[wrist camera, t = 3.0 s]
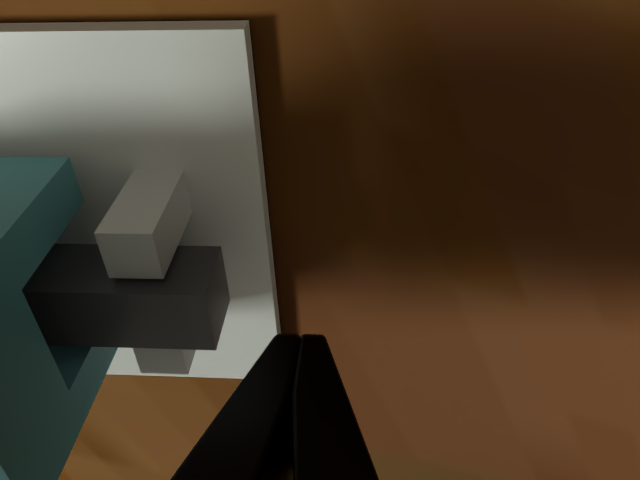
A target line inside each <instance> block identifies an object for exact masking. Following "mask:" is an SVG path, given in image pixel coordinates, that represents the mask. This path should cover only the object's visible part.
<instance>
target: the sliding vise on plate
mask: <svg viewBox="0 0 640 480" xmlns="http://www.w3.org/2000/svg"><path fill="white" fill-rule="evenodd" d="M0 157H69V158H70V161H71V164H72V167H73V170H74V173H75V176H76V179H77V181H78V184H79V187H80V190H81V193H82V196H83V199H84V203H83V204H82V205H81V207H80V208H79V210H78V211H77V212H76V214H75V215H74V217H73V218H72V220H71V221H70V222H69V224H68V225H67V227H66V228H65V229H64V231H63V232H62V234H61V235H60V236H59V238H58V239H57V241H56V242H55V244H54V245H53V246H52V248H51V249H50V251H49V252H48V253H47V255H46V256H45V258H44V259H43V261H42V262H41V263H40V265H39V266H38V268H37V269H36V270H35V272H34V273H33V275H32V276H31V277H30V279H29V280H28V282H27V283H26V285H25V286H24V287H23V289H22V292H23V294H24V296H25V298H26V301H27V303H28V305H29V307H30V309H31V311H32V313H33V316H34V318H35V320H36V322H37V324H38V326H39V328H40V331H41V333H42V335H43V337H44V339H45V341H46V343H47V345H51V346H85V347H118V349H117V351H116V353H115V356H114V358H113V360H112V362H111V364H110V366H109V369H108V371H107V373H106V374H118V375H149V376H179V377H209V378H240V379H244V377H245V376H246V375H247V373H248V372H249V370H250V369H251V368H252V366H253V365H254V364H255V362H256V361H257V359H258V358H259V357H260V355H261V354H262V353H263V351H264V350H265V348H266V347H267V346H268V344H269V343H270V342H271V340H272V339H273V337H274V336H275V335H277V334H281V328H280V319H279V309H278V299H277V289H276V280H275V270H274V260H273V250H272V241H271V231H270V221H269V212H268V202H267V192H266V182H265V173H264V163H263V153H262V143H261V134H260V124H259V114H258V104H257V95H256V85H255V75H254V65H253V56H252V46H251V36H250V26H249V20H230V21H142V22H54V23H0Z"/></svg>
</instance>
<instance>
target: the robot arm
mask: <svg viewBox="0 0 640 480" xmlns="http://www.w3.org/2000/svg"><path fill="white" fill-rule="evenodd" d="M171 480H379V478H378V476H377V473H376V470H375V468H374V465H373V462H372V460H371V457H370V454H369V452H368V449H367V446H366V444H365V441H364V438H363V436H362V433H361V430H360V428H359V425H358V422H357V420H356V417H355V414H354V412H353V409H352V406H351V404H350V401H349V398H348V396H347V393H346V391H345V388H344V385H343V383H342V380H341V377H340V375H339V372H338V369H337V367H336V364H335V361H334V359H333V356H332V353H331V351H330V348H329V345H328V343H327V340H326V338H325V336H323V335H316V334H303V335H302V336H301V338H300V336H299V335H298V334H277V335H275V336H274V337H273V339H272V340H271V342H270V343H269V344H268V346H267V347H266V348H265V350H264V351H263V353H262V354H261V355H260V357H259V358H258V359H257V361H256V362H255V364H254V365H253V366H252V368H251V369H250V370H249V372H248V373H247V375H246V376H245V377H244V379H243V380H242V382H241V383H240V384H239V386H238V387H237V388H236V390H235V391H234V393H233V394H232V395H231V397H230V398H229V399H228V401H227V402H226V404H225V405H224V406H223V408H222V409H221V411H220V412H219V413H218V415H217V416H216V417H215V419H214V420H213V422H212V423H211V424H210V426H209V427H208V428H207V430H206V431H205V433H204V434H203V435H202V437H201V438H200V439H199V441H198V442H197V444H196V445H195V446H194V448H193V449H192V451H191V452H190V453H189V455H188V456H187V457H186V459H185V460H184V462H183V463H182V464H181V466H180V467H179V468H178V470H177V471H176V473H175V474H174V475H173V477H172V478H171Z"/></svg>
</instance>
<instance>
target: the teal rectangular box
mask: <svg viewBox="0 0 640 480" xmlns="http://www.w3.org/2000/svg"><path fill="white" fill-rule="evenodd" d="M83 203H84V199H83V196H82V193H81V190H80V187H79V184H78V181H77V179H76V176H75V173H74V170H73V167H72V164H71V161H70V158H69V157H0V480H58V478H59V476H60V474H61V472H62V470H63V467H64V465H65V463H66V461H67V459H68V456H69V454H70V452H71V450H72V448H73V445H74V443H75V441H76V439H77V437H78V434H79V432H80V430H81V428H82V426H83V424H84V421H85V419H86V417H87V415H88V413H89V410H90V408H91V406H92V404H93V402H94V399H95V397H96V395H97V393H98V391H99V388H100V386H101V384H102V382H103V380H104V377H105V375H106V373H107V371H108V369H109V366H110V364H111V362H112V360H113V358H114V356H115V353H116V351H117V349H118V347H85V346H51V345H47V343H46V341H45V339H44V337H43V335H42V333H41V331H40V328H39V326H38V324H37V322H36V320H35V318H34V316H33V313H32V311H31V309H30V307H29V305H28V303H27V301H26V298H25V296H24V294H23V292H22V289H23V287H24V286H25V285H26V283H27V282H28V280H29V279H30V277H31V276H32V275H33V273H34V272H35V270H36V269H37V268H38V266H39V265H40V263H41V262H42V261H43V259H44V258H45V256H46V255H47V253H48V252H49V251H50V249H51V248H52V246H53V245H54V244H55V242H56V241H57V239H58V238H59V236H60V235H61V234H62V232H63V231H64V229H65V228H66V227H67V225H68V224H69V222H70V221H71V220H72V218H73V217H74V215H75V214H76V212H77V211H78V210H79V208H80V207H81V205H82V204H83Z"/></svg>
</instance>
